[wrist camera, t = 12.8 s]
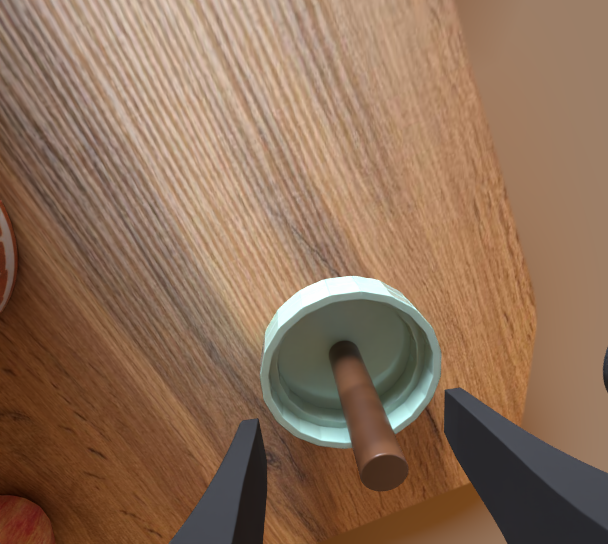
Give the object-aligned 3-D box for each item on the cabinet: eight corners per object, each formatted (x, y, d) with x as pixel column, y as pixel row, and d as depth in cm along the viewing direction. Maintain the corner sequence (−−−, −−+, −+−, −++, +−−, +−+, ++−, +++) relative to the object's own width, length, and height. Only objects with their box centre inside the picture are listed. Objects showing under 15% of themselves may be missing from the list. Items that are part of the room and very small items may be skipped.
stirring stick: (357, 337, 22) (408, 451, 14) (359, 364, 23) (409, 488, 14) (327, 342, 22) (359, 458, 14) (329, 368, 23) (361, 495, 14)
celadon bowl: (421, 263, 22) (443, 279, 19) (421, 402, 25) (440, 434, 22) (250, 285, 21) (246, 306, 18) (274, 424, 25) (274, 459, 22)
